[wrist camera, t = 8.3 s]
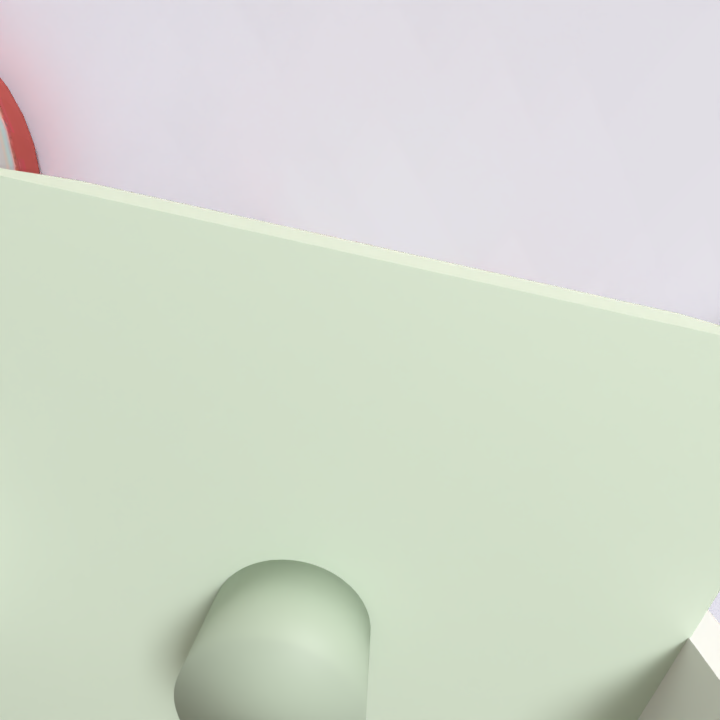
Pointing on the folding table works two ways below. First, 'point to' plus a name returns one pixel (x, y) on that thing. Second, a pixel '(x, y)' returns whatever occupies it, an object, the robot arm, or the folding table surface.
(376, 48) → the folding table surface
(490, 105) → the folding table surface
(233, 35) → the folding table surface
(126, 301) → the lid
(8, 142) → the citrus juicer
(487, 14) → the folding table surface
